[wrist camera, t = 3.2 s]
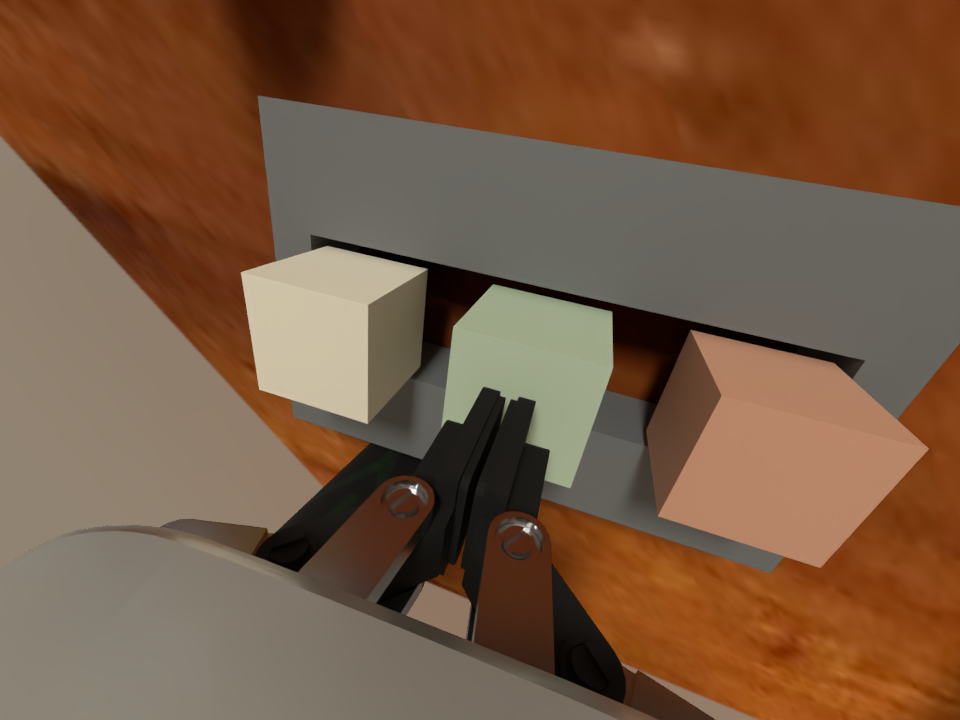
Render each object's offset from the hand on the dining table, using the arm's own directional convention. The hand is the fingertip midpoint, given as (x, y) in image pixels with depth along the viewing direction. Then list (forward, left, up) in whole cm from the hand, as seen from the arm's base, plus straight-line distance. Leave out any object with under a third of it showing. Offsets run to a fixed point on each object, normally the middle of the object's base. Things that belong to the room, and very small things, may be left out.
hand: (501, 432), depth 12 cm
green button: (0, 0, -6) cm, 6 cm away
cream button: (+8, 0, -6) cm, 10 cm away
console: (0, 0, -10) cm, 10 cm away
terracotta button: (-8, 0, -6) cm, 10 cm away
